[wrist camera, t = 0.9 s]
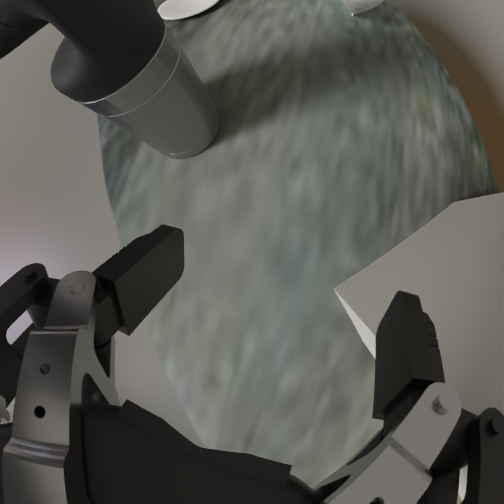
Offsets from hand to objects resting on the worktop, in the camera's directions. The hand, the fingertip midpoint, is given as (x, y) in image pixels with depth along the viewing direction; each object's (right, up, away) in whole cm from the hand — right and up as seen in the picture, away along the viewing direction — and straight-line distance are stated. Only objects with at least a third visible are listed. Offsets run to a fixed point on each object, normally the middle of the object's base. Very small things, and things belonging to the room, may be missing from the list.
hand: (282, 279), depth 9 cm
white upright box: (+19, -1, +19) cm, 27 cm away
